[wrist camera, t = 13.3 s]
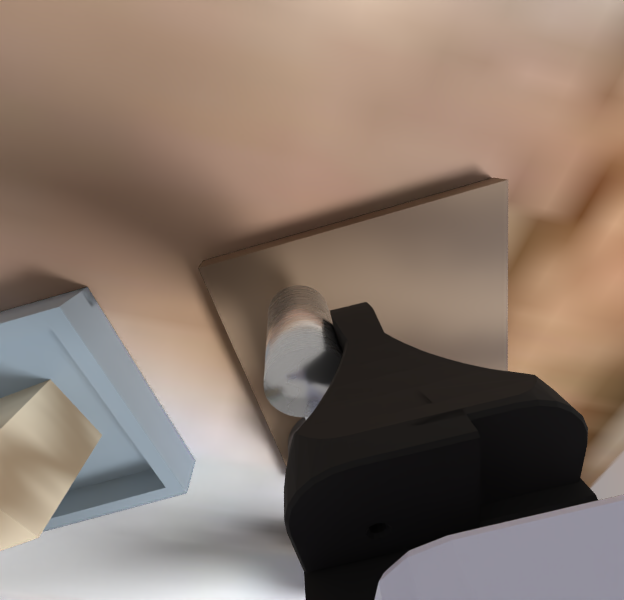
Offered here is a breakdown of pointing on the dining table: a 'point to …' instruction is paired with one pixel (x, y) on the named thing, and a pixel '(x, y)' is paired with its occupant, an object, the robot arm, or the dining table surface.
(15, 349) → the tray
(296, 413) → the crank lever
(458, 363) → the robot arm
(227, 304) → the board
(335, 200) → the dining table surface
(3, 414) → the block
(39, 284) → the dining table surface
